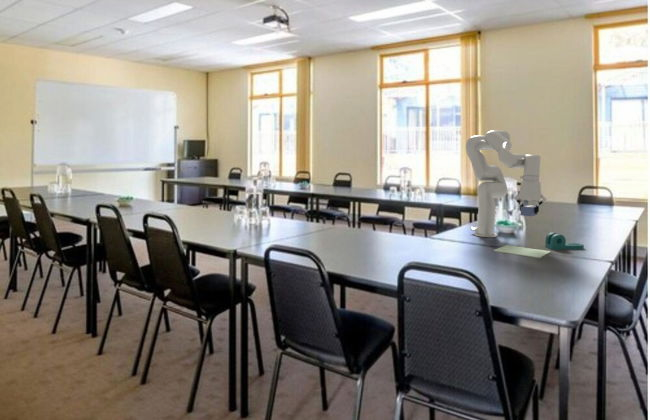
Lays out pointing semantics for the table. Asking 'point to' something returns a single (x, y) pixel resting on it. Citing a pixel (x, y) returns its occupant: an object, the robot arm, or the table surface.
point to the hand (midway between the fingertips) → (529, 212)
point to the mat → (522, 251)
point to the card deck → (528, 211)
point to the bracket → (560, 242)
